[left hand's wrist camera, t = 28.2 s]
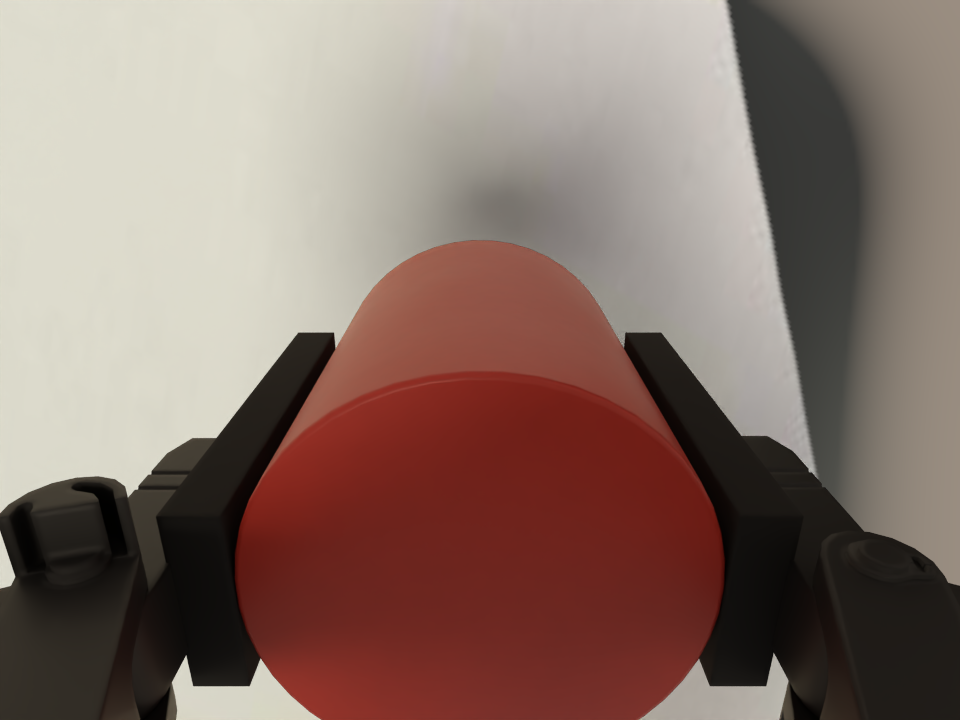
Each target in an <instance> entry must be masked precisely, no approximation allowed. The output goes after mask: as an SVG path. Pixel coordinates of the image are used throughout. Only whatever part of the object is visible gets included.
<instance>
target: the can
mask: <svg viewBox="0 0 960 720" xmlns="http://www.w3.org/2000/svg"><path fill="white" fill-rule="evenodd" d="M724 576H725V555H724V547H723V540H722V533H721V529H720V526H719V523H718V520H717V516H716V513H715V510H714V507H713V505H712V503H711V501H710V499H709V497H708V495H707V493H706V491H705V489H704V487H703V485H702V483H701V481H700V479H699V477H698V476H697V474H696V472H695V470H694V469H693V467H692V465H691V463H690V462H689V460H688V458H687V457H686V455H685V453H684V451H683V450H682V448H681V446H680V445H679V443H678V441H677V439H676V438H675V436H674V434H673V432H672V431H671V429H670V427H669V426H668V424H667V422H666V420H665V419H664V417H663V415H662V413H661V412H660V410H659V408H658V407H657V405H656V403H655V401H654V400H653V398H652V396H651V394H650V393H649V391H648V389H647V388H646V386H645V384H644V382H643V381H642V379H641V377H640V376H639V374H638V372H637V370H636V369H635V367H634V365H633V363H632V362H631V360H630V358H629V357H628V355H627V353H626V351H625V350H624V348H623V346H622V344H621V343H620V341H619V339H618V338H617V336H616V334H615V332H614V331H613V329H612V327H611V326H610V324H609V322H608V320H607V319H606V317H605V315H604V313H603V312H602V310H601V308H600V307H599V305H598V303H597V302H596V301H595V299H594V298H593V296H592V295H591V293H590V292H589V291H588V289H587V288H586V287H585V286H584V285H583V284H582V283H581V282H580V281H579V280H578V279H577V278H576V277H575V276H574V275H573V274H572V273H570V272H569V271H568V270H567V269H565V268H564V267H563V266H561V265H560V264H558V263H557V262H555V261H553V260H552V259H550V258H548V257H547V256H545V255H542V254H540V253H538V252H535V251H533V250H531V249H528V248H525V247H521V246H518V245H514V244H511V243H504V242H497V241H481V240H471V241H463V242H454V243H450V244H446V245H442V246H438V247H434V248H432V249H429V250H427V251H424V252H422V253H419V254H417V255H415V256H413V257H412V258H410V259H408V260H406V261H404V262H403V263H401V264H400V265H398V266H397V267H396V268H394V269H393V270H392V271H390V272H389V273H388V274H387V275H386V276H385V277H384V278H383V279H382V280H381V281H380V282H379V283H378V284H377V285H375V286H374V288H373V289H372V290H371V292H370V293H369V294H368V296H367V297H366V298H365V300H364V301H363V303H362V304H361V306H360V308H359V310H358V311H357V313H356V315H355V316H354V318H353V320H352V322H351V323H350V325H349V327H348V329H347V330H346V332H345V334H344V335H343V337H342V339H341V341H340V342H339V344H338V346H337V348H336V349H335V351H334V353H333V354H332V356H331V358H330V360H329V361H328V363H327V365H326V367H325V368H324V370H323V372H322V373H321V375H320V377H319V379H318V380H317V382H316V384H315V385H314V387H313V389H312V391H311V392H310V394H309V396H308V398H307V399H306V401H305V403H304V404H303V406H302V408H301V410H300V411H299V413H298V415H297V417H296V418H295V420H294V422H293V423H292V425H291V427H290V429H289V430H288V432H287V434H286V436H285V437H284V439H283V441H282V442H281V444H280V446H279V448H278V449H277V451H276V453H275V455H274V456H273V458H272V460H271V461H270V463H269V465H268V467H267V468H266V470H265V472H264V474H263V475H262V477H261V479H260V481H259V483H258V484H257V486H256V488H255V490H254V492H253V493H252V495H251V497H250V499H249V501H248V504H247V507H246V509H245V512H244V515H243V518H242V521H241V523H240V527H239V532H238V538H237V543H236V549H235V585H236V592H237V598H238V605H239V609H240V612H241V615H242V618H243V621H244V625H245V628H246V631H247V633H248V635H249V637H250V639H251V641H252V643H253V645H254V647H255V649H256V651H257V653H258V655H259V656H260V658H261V659H262V661H263V662H264V664H265V665H266V667H267V668H268V669H269V671H270V672H271V674H272V675H273V676H274V678H275V679H276V680H277V681H278V682H279V683H280V684H281V685H282V686H283V688H284V689H285V690H286V691H287V692H288V693H289V694H290V695H291V696H292V697H293V698H294V699H296V700H297V701H298V702H299V703H300V704H301V705H302V706H304V707H305V708H306V709H307V710H308V711H309V712H311V713H312V714H314V715H315V716H317V717H318V718H320V719H321V720H639V719H640V718H642V717H643V716H645V715H646V714H647V713H648V712H650V711H651V710H652V709H653V708H655V707H656V706H657V705H658V704H659V703H661V702H662V701H663V700H664V699H665V698H666V697H667V696H668V695H669V694H670V693H671V692H672V691H673V690H674V689H675V688H676V687H677V686H678V685H679V684H680V683H681V682H682V681H683V679H684V678H685V677H686V675H687V674H688V673H689V671H690V670H691V669H692V667H693V666H694V665H695V663H696V662H697V660H698V659H699V657H700V655H701V653H702V652H703V650H704V648H705V646H706V644H707V642H708V641H709V639H710V637H711V634H712V631H713V628H714V626H715V623H716V620H717V617H718V615H719V611H720V606H721V601H722V595H723V590H724Z"/></svg>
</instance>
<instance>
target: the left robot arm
mask: <svg viewBox="0 0 960 720" xmlns="http://www.w3.org/2000/svg"><path fill="white" fill-rule="evenodd" d="M624 350H625V351H626V353H627V355H628V357H629V358H630V360H631V362H632V363H633V365H634V367H635V369H636V370H637V372H638V374H639V376H640V377H641V379H642V381H643V382H644V384H645V386H646V388H647V389H648V391H649V393H650V394H651V396H652V398H653V400H654V401H655V403H656V405H657V407H658V408H659V410H660V412H661V413H662V415H663V417H664V419H665V420H666V422H667V424H668V426H669V427H670V429H671V431H672V432H673V434H674V436H675V438H676V439H677V441H678V443H679V445H680V446H681V448H682V450H683V451H684V453H685V455H686V457H687V458H688V460H689V462H690V463H691V465H692V467H693V469H694V470H695V472H696V474H697V476H698V477H699V479H700V481H701V483H702V485H703V487H704V489H705V491H706V493H707V495H708V497H709V499H710V501H711V503H712V505H713V507H714V510H715V513H716V516H717V520H718V523H719V526H720V529H721V533H722V540H723V547H724V555H725V576H724V590H723V595H722V601H721V606H720V611H719V615H718V617H717V620H716V623H715V626H714V628H713V631H712V634H711V637H710V639H709V641H708V642H707V644H706V646H705V648H704V650H703V652H702V653H701V655H700V657H699V659H700V662H701V665H702V667H703V670H704V672H705V675H706V677H707V680H708V682H709V685H710V686H766V685H767V680H768V676H769V671H770V667H771V662H772V658H773V653H774V654H775V656H776V657H777V659H778V661H779V663H780V665H781V667H782V669H783V671H784V673H785V674H786V676H787V678H788V680H789V682H788V686H787V690H786V694H785V698H784V703H783V707H782V711H781V715H780V719H779V720H960V586H958V585H954V584H950V583H948V582H947V580H946V578H945V576H944V575H943V573H942V572H941V571H940V570H939V568H938V567H937V566H936V565H935V563H934V562H933V561H931V560H930V559H929V558H927V557H926V556H924V555H923V554H922V553H920V552H919V551H917V550H916V549H915V548H912V547H910V546H908V545H906V544H904V543H902V542H899V541H897V540H895V539H893V538H889V537H886V536H882V535H878V534H874V533H870V532H864V531H863V530H862V529H861V527H860V526H859V525H858V524H857V523H856V522H855V521H854V520H853V518H852V517H851V516H850V515H849V514H848V513H847V512H846V511H845V509H844V508H843V507H842V506H841V505H840V504H839V503H838V502H837V500H836V499H835V498H834V497H833V496H832V495H831V494H830V493H829V491H828V490H827V489H826V488H824V487H822V484H821V482H820V481H819V480H818V479H817V478H816V477H815V476H814V475H813V473H812V472H809V471H808V468H807V467H806V466H805V464H804V463H803V462H802V461H801V460H800V459H799V458H798V457H797V455H796V454H795V453H794V452H793V451H792V450H790V449H788V448H786V447H785V446H783V445H781V444H780V443H778V442H776V441H775V440H773V439H771V438H770V437H768V436H741V435H740V434H739V432H738V431H737V430H736V428H735V427H734V426H733V425H732V423H731V422H730V421H729V419H728V418H727V417H726V416H725V414H724V413H723V412H722V410H721V409H720V408H719V407H718V405H717V404H716V403H715V401H714V400H713V399H712V398H711V396H710V395H709V394H708V392H707V391H706V390H705V389H704V387H703V386H702V385H701V383H700V382H699V381H698V380H697V378H696V377H695V376H694V374H693V373H692V372H691V371H690V369H689V368H688V367H687V365H686V364H685V363H684V361H683V360H682V359H681V358H680V356H679V355H678V354H677V352H676V351H675V350H674V349H673V347H672V346H671V345H670V343H669V342H668V341H667V340H666V338H665V337H664V336H663V334H662V333H625V344H624ZM334 351H335V338H334V333H298V334H297V335H296V336H295V338H294V339H293V340H292V342H291V343H290V344H289V345H288V347H287V348H286V349H285V351H284V352H283V353H282V354H281V356H280V357H279V358H278V360H277V361H276V362H275V363H274V365H273V366H272V367H271V369H270V370H269V371H268V372H267V374H266V375H265V376H264V378H263V379H262V380H261V382H260V383H259V384H258V385H257V387H256V388H255V389H254V391H253V392H252V393H251V394H250V396H249V397H248V398H247V400H246V401H245V402H244V403H243V405H242V406H241V407H240V409H239V410H238V411H237V412H236V414H235V415H234V416H233V418H232V419H231V420H230V421H229V423H228V424H227V425H226V427H225V428H224V429H223V430H222V432H221V433H220V434H219V436H218V437H217V438H192V439H191V440H189V441H187V442H186V443H184V444H182V445H181V446H179V447H177V448H175V449H174V450H172V451H170V452H169V453H167V454H166V455H165V457H164V458H163V459H162V460H161V461H160V462H159V463H158V464H157V466H156V467H155V468H154V469H153V470H152V473H151V475H148V476H147V477H146V478H145V479H144V480H143V481H142V483H141V484H140V485H139V486H138V487H139V488H138V490H135V491H134V492H133V493H132V494H131V495H130V496H129V497H127V493H126V488H125V486H124V485H122V484H121V483H119V482H118V481H117V480H115V479H110V478H104V477H81V478H73V479H69V480H65V481H60V482H56V483H52V484H49V485H47V486H44V487H42V488H39V489H36V490H34V491H31V492H29V493H27V494H25V495H24V496H22V497H20V498H19V499H17V500H15V501H14V502H12V503H11V504H9V505H8V506H7V507H6V508H5V509H4V510H3V511H2V512H1V513H0V531H1V534H2V537H3V540H4V543H5V546H6V549H7V553H8V556H9V559H10V562H11V565H12V568H13V571H14V574H15V579H14V581H13V583H12V585H11V586H9V587H5V588H1V589H0V720H176V715H177V706H176V700H175V694H174V690H173V686H172V681H173V679H174V677H175V675H176V673H177V671H178V669H179V668H180V666H181V664H182V662H183V660H184V658H185V656H186V655H187V660H188V664H189V669H190V673H191V678H192V682H193V686H250V684H251V681H252V679H253V676H254V674H255V671H256V669H257V666H258V663H259V661H260V656H259V655H258V653H257V651H256V649H255V647H254V645H253V643H252V641H251V639H250V637H249V635H248V633H247V631H246V628H245V625H244V621H243V618H242V615H241V612H240V609H239V605H238V598H237V592H236V585H235V549H236V543H237V538H238V532H239V527H240V523H241V521H242V518H243V515H244V512H245V509H246V507H247V504H248V501H249V499H250V497H251V495H252V493H253V492H254V490H255V488H256V486H257V484H258V483H259V481H260V479H261V477H262V475H263V474H264V472H265V470H266V468H267V467H268V465H269V463H270V461H271V460H272V458H273V456H274V455H275V453H276V451H277V449H278V448H279V446H280V444H281V442H282V441H283V439H284V437H285V436H286V434H287V432H288V430H289V429H290V427H291V425H292V423H293V422H294V420H295V418H296V417H297V415H298V413H299V411H300V410H301V408H302V406H303V404H304V403H305V401H306V399H307V398H308V396H309V394H310V392H311V391H312V389H313V387H314V385H315V384H316V382H317V380H318V379H319V377H320V375H321V373H322V372H323V370H324V368H325V367H326V365H327V363H328V361H329V360H330V358H331V356H332V354H333V353H334Z"/></svg>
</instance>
